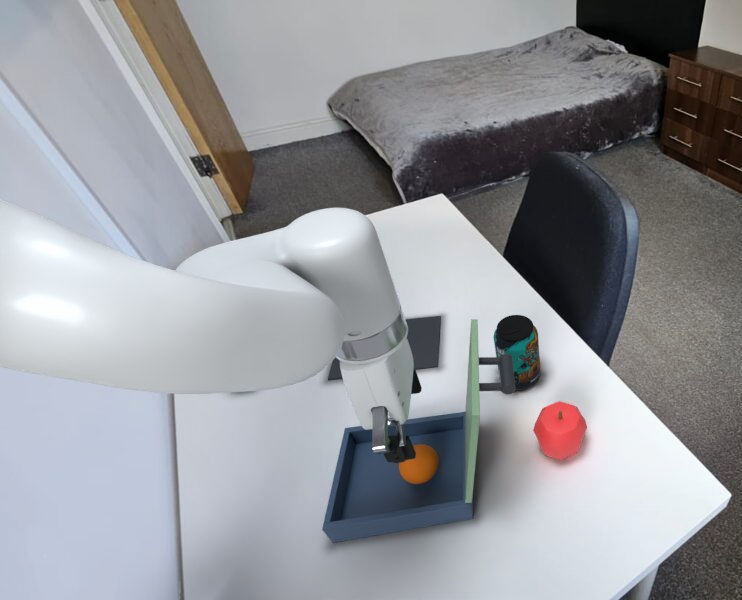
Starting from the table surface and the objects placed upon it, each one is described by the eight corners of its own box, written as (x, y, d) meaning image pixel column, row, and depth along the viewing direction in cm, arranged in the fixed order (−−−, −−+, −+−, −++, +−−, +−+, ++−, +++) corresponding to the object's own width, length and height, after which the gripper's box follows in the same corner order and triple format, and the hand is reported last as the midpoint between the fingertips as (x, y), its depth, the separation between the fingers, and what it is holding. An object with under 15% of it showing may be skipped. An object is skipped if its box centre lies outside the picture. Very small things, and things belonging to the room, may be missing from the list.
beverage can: (546, 384, 80) (544, 335, 72) (507, 398, 78) (500, 348, 70) (531, 356, 85) (528, 307, 77) (494, 368, 82) (486, 319, 74)
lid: (472, 415, 48) (520, 413, 50) (471, 319, 59) (511, 319, 60) (465, 503, 60) (504, 500, 61) (465, 409, 70) (499, 408, 72)
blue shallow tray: (332, 543, 60) (321, 529, 57) (352, 443, 71) (344, 427, 68) (473, 518, 63) (468, 504, 60) (472, 426, 73) (468, 410, 71)
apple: (562, 477, 67) (561, 447, 62) (523, 444, 71) (520, 413, 66) (597, 441, 72) (599, 409, 67) (559, 412, 76) (558, 380, 70)
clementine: (401, 494, 64) (392, 474, 61) (405, 459, 68) (397, 439, 64) (441, 487, 65) (434, 468, 61) (442, 454, 69) (436, 434, 65)
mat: (328, 380, 79) (327, 378, 79) (343, 327, 89) (342, 325, 89) (437, 367, 82) (437, 365, 82) (440, 317, 92) (440, 315, 92)
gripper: (343, 277, 53) (383, 374, 65) (305, 402, 41) (363, 494, 52) (411, 271, 54) (439, 367, 66) (395, 389, 42) (433, 483, 53)
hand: (406, 423), depth 59 cm, fingers open, 9 cm apart
